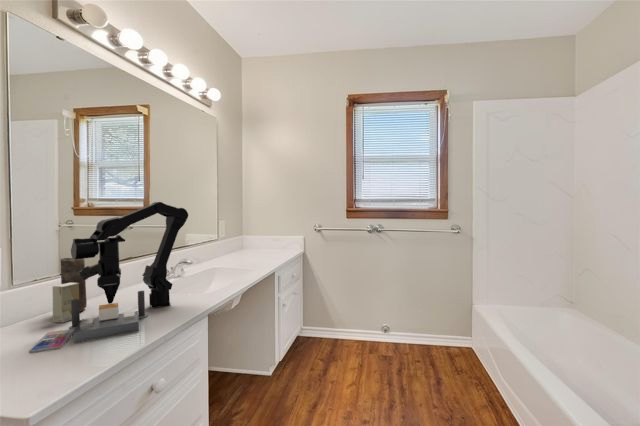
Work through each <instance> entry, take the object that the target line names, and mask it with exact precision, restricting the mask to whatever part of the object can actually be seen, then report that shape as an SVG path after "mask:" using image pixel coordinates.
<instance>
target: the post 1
mask: <svg viewBox="0 0 640 426" xmlns="http://www.w3.org/2000/svg"><path fill="white" fill-rule="evenodd" d="M71 310H72V320H71V325H70V326H68V329H76V327H77V324H78V322H79V320H81V319H80V312H81V311H79V299H74V300H71Z"/></svg>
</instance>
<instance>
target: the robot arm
mask: <svg viewBox="0 0 640 426" xmlns="http://www.w3.org/2000/svg"><path fill="white" fill-rule="evenodd" d="M156 214H159V215H161V216H162V217H164V218H165V226H166V227H165V230H164V234H162V235H163V236H162V238H161V241H160V244H159V247H158V250H157V253H156V255H155V258H154V260H153V262H152V263H151V264H150V265H145V268H144V272H143V273H142V281H143V283H144V285H146V286H147V287H148V290H149V289H150V293H149V294H148V295H149V297H148V299H149V302H148V303H149V306H150V308H151V309H155V308H162V307H166V306H171V302H170V300H171V299H170V291H171V290H172V287H173V283H172V282H170V281H169V280H168V279H167V276H168V275H167V274H168V269H167V267H168V261H169V258H170V255H171V253H172V250H173V247H174V246H175V241H176V238H177V236H178V233H179V231H180V229H181V228H183V227H184V225H185V223H186V222H187V220H188V217H189V213H188V211H187V209H185V208H183V207H176V206H172V205H170V204H166V203H164V202H162V201H154V202H152V203H151V204H148V205H145V206H143V207H141V208H139V209H136V210H134V211H131V212H129V213H126V214H124V215H120V216H115V217H111V218H106V219H102V220H100V221H99V222H97V223H96V224H97V225H96V229H95V230H94V232H93V233H92V234H91V235H90V236H89V237H87V238H73V239H72V244H71V248H70V255H71V258H73V260H77V259H84V260H86V259H93V258H95V257H96V256H98V254H99V259H98V261H97V263H95V264H92V265H90V266H89V265H87V266H85V268H83V269H82V270H80V271H79V273H80V276H81V277H82V279H83V280H85V281H86V280H88V279H89V278H92V277H94V276H96V275H98V276H99V277H98V278H97V286H98V288H101V289H102V290H103V291H104V295H105V297H106V300H107V303H108V304H113V303H114V300H115V297H116V294H117V293H118V290H119V287H120V285H121V277H122V276H121V275H122V268H121V267H120V251H119V250H120V248H119V247H120V246H119V243H124V242H126V239H125V238H123V237H122V236H121V235H119V234H120V233H122V232H123V231H125V230H126V229H128V227H130V226H131V225H134V224H136V223H137V222H140V221H143V220H145V219H147V218H150V217H152V216H155V215H156Z"/></svg>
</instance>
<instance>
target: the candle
mask: <svg viewBox="0 0 640 426" xmlns="http://www.w3.org/2000/svg"><path fill="white" fill-rule="evenodd" d="M85 260H86V259H77V260H73V258H72V257H64V258H60V285H61V284H66V283H79V312H81V311H83V310H84V309H86V308H87V305H88V304H87V287H86V285H87V283H86V280H83V279H82V277H81V276H80V273H79V271H80V270H82V269H83V268H85V267H86V265H85V262H86V261H85Z"/></svg>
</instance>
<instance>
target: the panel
mask: <svg viewBox="0 0 640 426" xmlns="http://www.w3.org/2000/svg"><path fill="white" fill-rule="evenodd" d="M139 331H140V319H139V318H138V310H137V311H135V310H132V311H128V312H122V313H118V318H113V319H107V320H101V321H99V316H98V317H89V318H84V319H80V320H79V322H78V324H77V327H76V329H75V331H74V334H73V344H78V343H83V342H89V341H94V340H99V339H105V338H111V337H115V336H121V335H125V334H132V333H136V332H137V333H138V332H139Z"/></svg>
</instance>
